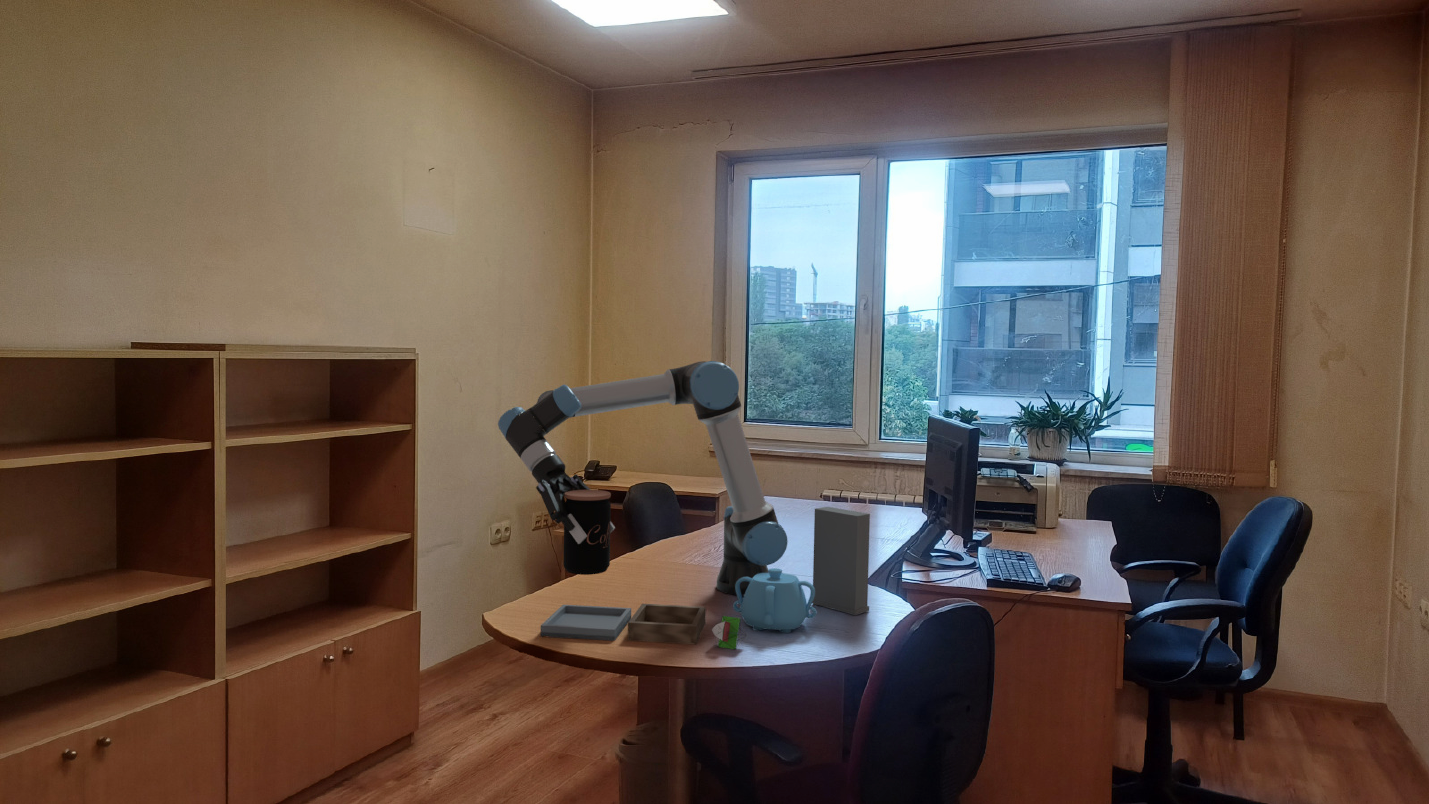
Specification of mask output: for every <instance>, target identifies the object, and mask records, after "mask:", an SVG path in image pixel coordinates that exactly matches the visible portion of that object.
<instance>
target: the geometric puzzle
mask: <svg viewBox="0 0 1429 804" xmlns="http://www.w3.org/2000/svg"><path fill="white" fill-rule="evenodd" d="M719 620H721V621H720V622H719V623H717V622H716V624H715V625H714V626H713V627H712V628H711V629H710V630H711V632H712V634H713V636H714V637H715V638H717V639H718V641H715V642H716V644H717V647H718V648H722V649H723V648H724V649H729V650H735V651H736V650H737V648H738V646H740V644H741V643H739V642H738V641H739V640H741V639H742V641H744V639H743V638H745V637H746V636H748V635H747V633H746V632H745V631H743V630H741V627H740V624H741V625H742V626H743V629H745V628H744V624H743V623H741V617H734V616H727V615H722V616H721V617H720V618H719ZM739 631H740V632H739ZM741 632H742V633H741ZM738 635H739V636H738ZM741 635H742V636H743V637H741ZM740 637H741V638H740ZM742 641H741V642H742ZM738 643H739V645H738Z"/></svg>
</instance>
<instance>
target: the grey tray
mask: <svg viewBox="0 0 1429 804" xmlns="http://www.w3.org/2000/svg"><path fill="white" fill-rule="evenodd" d="M631 618H632V607H619V606H618V607H614V606H601V605H600V606H599V605H598V606H597V605H577V604H562V605H561V606H559V608H558V609H556V611H554V613H552V614H551V615H550V616H549V617H548V618H547V619H546V620H545V621H544V622H543V623H542V624H540V637H542V636H548V637H547V638H564V639H577V640H578V639H579V640H581V639H582V640H593V641H594V640H597V641H598V640H599V641H612V642H613V641H614V642H615V641H616V640H617V638H618V637H619V636H620V635H621V633H622V632H623V630H624V629H625V628H626V626H628V622H629V621H630V619H631Z"/></svg>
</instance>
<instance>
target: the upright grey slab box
mask: <svg viewBox="0 0 1429 804" xmlns="http://www.w3.org/2000/svg"><path fill="white" fill-rule="evenodd" d="M870 517H871V514H870V513H867V512H862V511H855V510H849V509H845V508H844V509H842V508H838V507H831V506H823V507H816V508H814V524H813V529H814V530H813V531H814V532H813V566H812V585H813V586H814V588H815V596H814V599H813V602H812V604H811V605H813V606H819V607H824V608H827V609H830V610H831V609H832V610H835V611H839V612H842V613H845V614H851V616H857V615H860V614H864V613H867V612H869V611H870V605H868V597H869V595H868V593H869V591H868V590H869V558H870V557H869V556H870V525H871V523H870V522H871V520H870V519H871V518H870Z"/></svg>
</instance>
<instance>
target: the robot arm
mask: <svg viewBox="0 0 1429 804" xmlns="http://www.w3.org/2000/svg"><path fill="white" fill-rule="evenodd" d="M739 390H740V383H739V379H738V376H737V373H735V371H734V370H733V369H732V368H731V367H730V366H728V365H726V364H725V363H724V362H721V361H717V360H709V361H707V360H706V361H696V362H693V363H690V364H687V365H683V366H680V367H674V368H669V369H666V371H665V372H664V373H662V374H655V375H649V376H643V377H642V376H641V377H636V378H635V377H634V378H629V379H623V380H622V379H621V380H615V381H609V382H603V383H597V384H590V385H589V384H588V385H584V386H576V387H569V386H568V385H567V384H562V385H560V386H559V387H556V388H555V389H553V390H552V389H551V390H545V392H542V393H541V394H540V396H539V397H538V399H537V402H536V403H535V404H533V405H532V406H531V407H529V408H527V409H526V410H525V409H524V408H523V407H521V406H515V407H514V406H513V408H511V409H508V410H507V411H505V412H504V413H503V414H502V415H501V416H500V417H499V419H498V422H497V426H498V429H499V430H500V432H501V433H502V435H503V437H504V438H505V440H506V441H507V443H508V444H509V445H510V446H511V448H512V449H513V451H514V452H515V453H516V454H517V456H518V457H519V458H520V460H521V461H522V462H523V464H524V465H525V466H526V468H527V469H528V471H529V472H530V473H531V475H532V477H533V478H534V480H535V481H536V482H537V486H536V487H535V489H536V491H537V492H538V493H539V495H541V499H542V501H543V503H544V505H545V508H546V510H547V512H548V515H549V517H550V520H552V521H555V523H556V524H560V523H562V525H563V527H564V526H565V527H566V529H567V530H568V531H569V532H570V533H571V535H572V536H573V537H574V539H575V540H576V542H577V543H578V544H580V543H581V542H582V541H583V540H584V539H585V538H586V537H587V535H586V533H585V532H584V531H583V529H582V528H581V527H580V525H579V524H578V523H577V521H576V520H575V518H574V517H573V516H572V514H569V515H568V516H567V514H568V513H567V508H566V503H565V502H566V498H565V492H568V491H573V490H592V489H591V488H590V487H589V486H588V485H586V483H584V482H583V480H581V478H580V477H579V475H578V474H577V473H576V474H574V475H573V476H570V475H568V474H567V473H566V465H565V463H564V462H563V460H562V459H561V458H560V456H559V455H558V454H557V452H556V451H555V449H554V448H553V446H551V444H550V443H549V441H548V440H547V438H545V436H546V435H547V434H550V432H551V431H553V430H554V429H555V428H557V427H558V426H560V425H561V424H563V423H564V422H565V421H567V420H568V419H571V418H575V417H576V418H577V417H583V416H588V415H594V414H601V413H606V412H607V413H608V412H614V411H620V410H626V409H633V408H634V409H635V408H638V407H646V406H653V405H657V404H659V405H661V404H664V403H669V404H671V406H676V405H693V407H694V408H693V409H694V411H695V414H696V417H697V420H698V421H699V422H701V423H703V424H705V426H706V429H707V432H708V436H709V438H710V441H711V444H712V445H711V446H712V447H713V450H714V454H715V457H716V460H717V463H718V467H719V470H720V473H721V476H722V478H723V482H724V486H725V488H726V491H727V495H728V497H729V501H730V504H731V505H729V506H727V507H726V508H725V509H724V515H723V561H722V564H721V567H720V569H719V572H718V573H719V574H718V575H717V579H716V589H717V591H719V592H722V593H725V594H729V595H734V596H735V595H736V596H737V594H736V590H735V584H736V582H737V581H738V580H739V579H740V578H742V577H750V578H753V577H754V576H755V575H756V574H758V573H769V571H768V570H769V569H768V566H769V565H773V564H775V563H777V561H779V560H780V559H781V558H782V557H783V555H784V554H785V552H786V550H787V548H788V542H789V541H788V536H787V532H786V531H785V529H784V528H783V526H782V525H781V524H779V522H778V518H777V516H776V512H775V509H774V506H773V504H772V503H769V502H767V501H766V499H765V496H764V493H763V490H762V486H761V483H760V480H759V478H758V474H757V470H756V468H755V465H754V461H753V457H752V456H751V452H750V451H751V450H750V449H749V446H748V442H747V439H746V435H745V432H744V429H743V426H742V423H741V420H740V417H739V412H740V410H741V409H742V403H741V401H740V396H739ZM615 529H616V527H615V525H614V524H613V522H612V521H611V520H610V534H611V533H612V532H614V530H615ZM749 583H750V582H748V581H743V582H741V583H740V591H741V594H742V596H744V595H745V592H746V590H747V588H748V585H749Z"/></svg>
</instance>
